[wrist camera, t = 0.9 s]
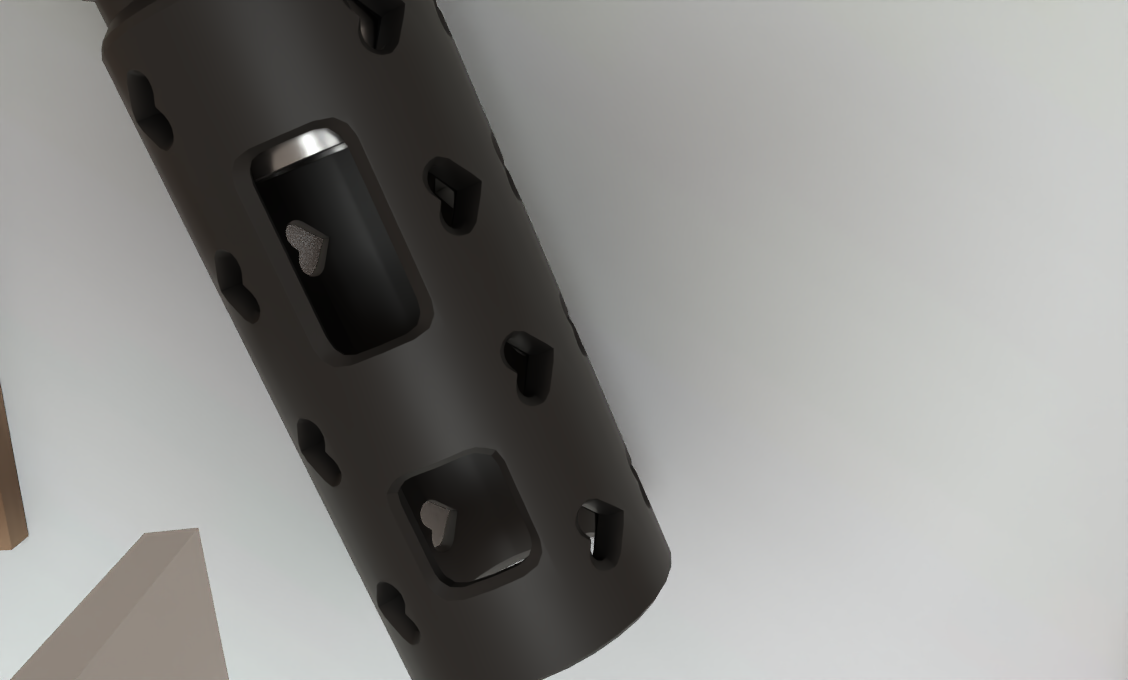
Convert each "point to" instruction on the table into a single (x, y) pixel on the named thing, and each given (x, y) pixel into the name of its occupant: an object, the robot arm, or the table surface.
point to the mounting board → (9, 491)
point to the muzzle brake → (399, 319)
